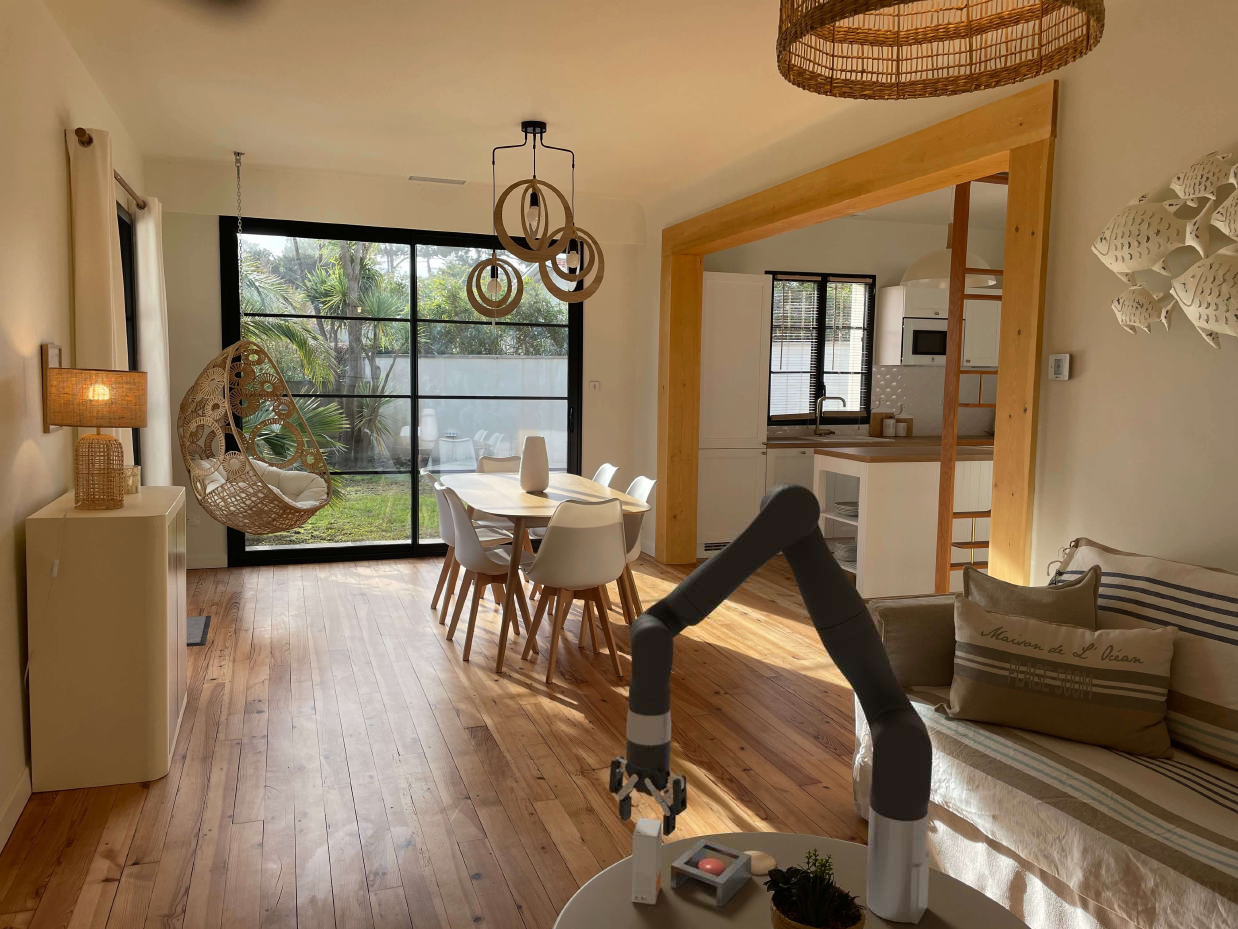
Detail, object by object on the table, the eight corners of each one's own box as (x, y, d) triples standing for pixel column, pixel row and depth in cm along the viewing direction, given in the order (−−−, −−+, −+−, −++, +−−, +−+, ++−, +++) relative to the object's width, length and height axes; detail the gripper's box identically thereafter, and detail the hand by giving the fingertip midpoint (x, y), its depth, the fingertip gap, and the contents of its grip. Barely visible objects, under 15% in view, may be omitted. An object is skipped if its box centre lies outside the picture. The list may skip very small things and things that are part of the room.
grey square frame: (751, 876, 155) (751, 855, 155) (721, 906, 146) (722, 883, 146) (701, 859, 161) (702, 838, 161) (670, 887, 152) (671, 864, 152)
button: (733, 871, 154) (733, 863, 154) (718, 885, 150) (718, 878, 150) (705, 861, 157) (705, 853, 157) (689, 875, 153) (689, 867, 153)
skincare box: (656, 905, 147) (656, 837, 145) (631, 902, 147) (631, 834, 146) (661, 885, 152) (662, 819, 151) (637, 882, 153) (638, 817, 152)
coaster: (781, 861, 160) (781, 858, 160) (765, 879, 155) (765, 876, 155) (747, 850, 164) (747, 847, 164) (730, 866, 159) (730, 863, 159)
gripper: (696, 737, 147) (693, 830, 148) (626, 717, 155) (624, 806, 156) (673, 752, 140) (670, 849, 142) (601, 731, 149) (599, 822, 150)
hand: (646, 826), depth 149 cm, fingers open, 8 cm apart
